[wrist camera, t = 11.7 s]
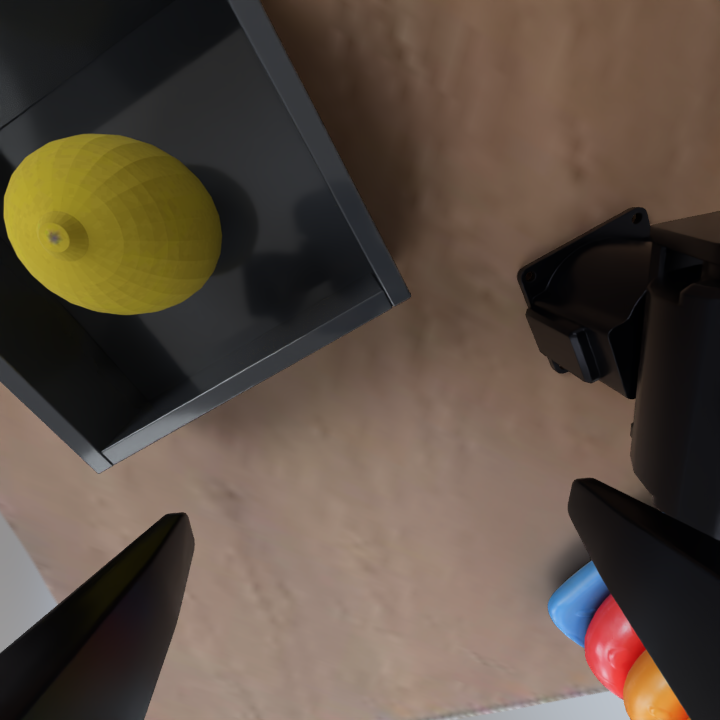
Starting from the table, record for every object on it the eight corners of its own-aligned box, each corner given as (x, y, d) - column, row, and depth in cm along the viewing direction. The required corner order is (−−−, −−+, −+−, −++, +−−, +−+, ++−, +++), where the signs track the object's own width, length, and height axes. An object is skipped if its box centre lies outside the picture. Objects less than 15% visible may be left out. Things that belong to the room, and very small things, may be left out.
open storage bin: (220, -50, 14) (162, -191, 9) (390, 274, 19) (412, 297, 14) (-71, 164, 16) (-254, 144, 11) (153, 411, 21) (97, 474, 16)
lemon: (201, 312, 18) (112, 383, 11) (85, 237, 16) (-115, 259, 9) (266, 213, 17) (215, 215, 9) (146, 121, 15) (-31, 34, 8)
